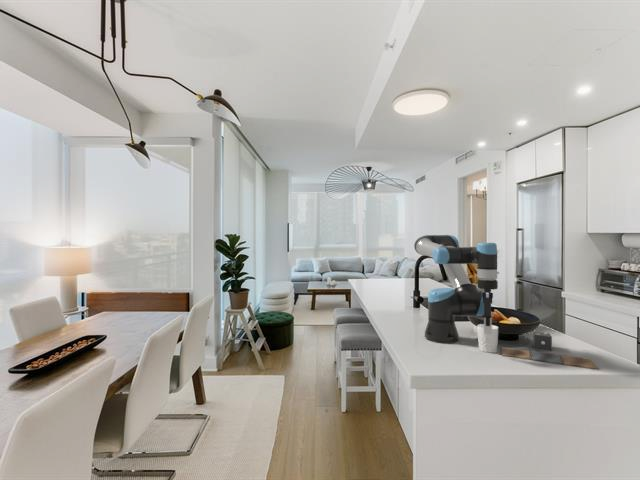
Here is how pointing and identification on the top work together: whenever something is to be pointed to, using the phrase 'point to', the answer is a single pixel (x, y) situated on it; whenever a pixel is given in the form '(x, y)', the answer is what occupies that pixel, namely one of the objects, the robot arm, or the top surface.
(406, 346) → the top surface
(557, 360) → the board
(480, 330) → the white cup
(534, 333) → the die
